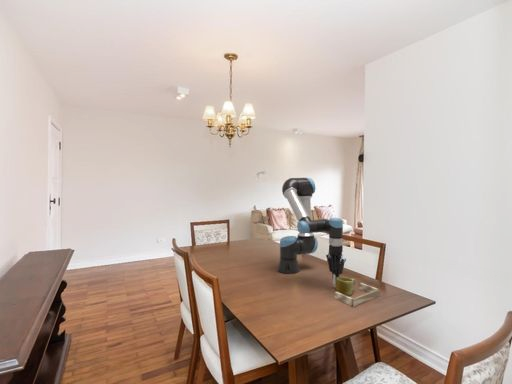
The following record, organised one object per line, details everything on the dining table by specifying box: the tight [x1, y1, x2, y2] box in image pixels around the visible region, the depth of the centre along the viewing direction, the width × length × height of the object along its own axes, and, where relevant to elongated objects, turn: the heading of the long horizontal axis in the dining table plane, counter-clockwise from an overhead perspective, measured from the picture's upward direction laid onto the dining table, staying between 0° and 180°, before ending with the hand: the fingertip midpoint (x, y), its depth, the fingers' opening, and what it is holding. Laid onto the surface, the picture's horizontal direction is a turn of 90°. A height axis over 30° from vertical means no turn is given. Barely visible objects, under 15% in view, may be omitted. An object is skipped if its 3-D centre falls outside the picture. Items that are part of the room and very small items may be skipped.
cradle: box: [333, 282, 381, 308], centre depth 150 cm, size 12×22×4 cm, turn 123°
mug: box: [335, 276, 356, 297], centre depth 155 cm, size 12×10×10 cm
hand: (335, 284), depth 162 cm, fingers closed
